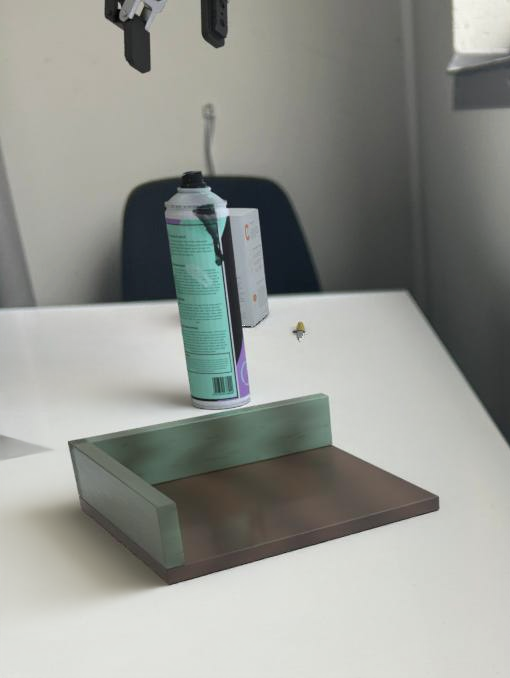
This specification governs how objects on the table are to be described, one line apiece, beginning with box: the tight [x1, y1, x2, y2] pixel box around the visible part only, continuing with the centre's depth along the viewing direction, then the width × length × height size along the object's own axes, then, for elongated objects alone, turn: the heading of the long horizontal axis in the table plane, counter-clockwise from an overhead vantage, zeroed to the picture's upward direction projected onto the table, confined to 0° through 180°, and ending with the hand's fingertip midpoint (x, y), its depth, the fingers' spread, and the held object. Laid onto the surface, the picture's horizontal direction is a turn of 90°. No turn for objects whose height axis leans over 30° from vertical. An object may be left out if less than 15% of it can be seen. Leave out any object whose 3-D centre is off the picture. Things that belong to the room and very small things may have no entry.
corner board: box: [67, 392, 440, 585], centre depth 71 cm, size 20×16×5 cm
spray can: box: [164, 170, 251, 410], centre depth 93 cm, size 6×6×20 cm
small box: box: [226, 207, 270, 327], centre depth 128 cm, size 8×6×13 cm
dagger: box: [292, 321, 306, 339], centre depth 123 cm, size 11×1×2 cm
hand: (175, 56), depth 90 cm, fingers open, 8 cm apart
